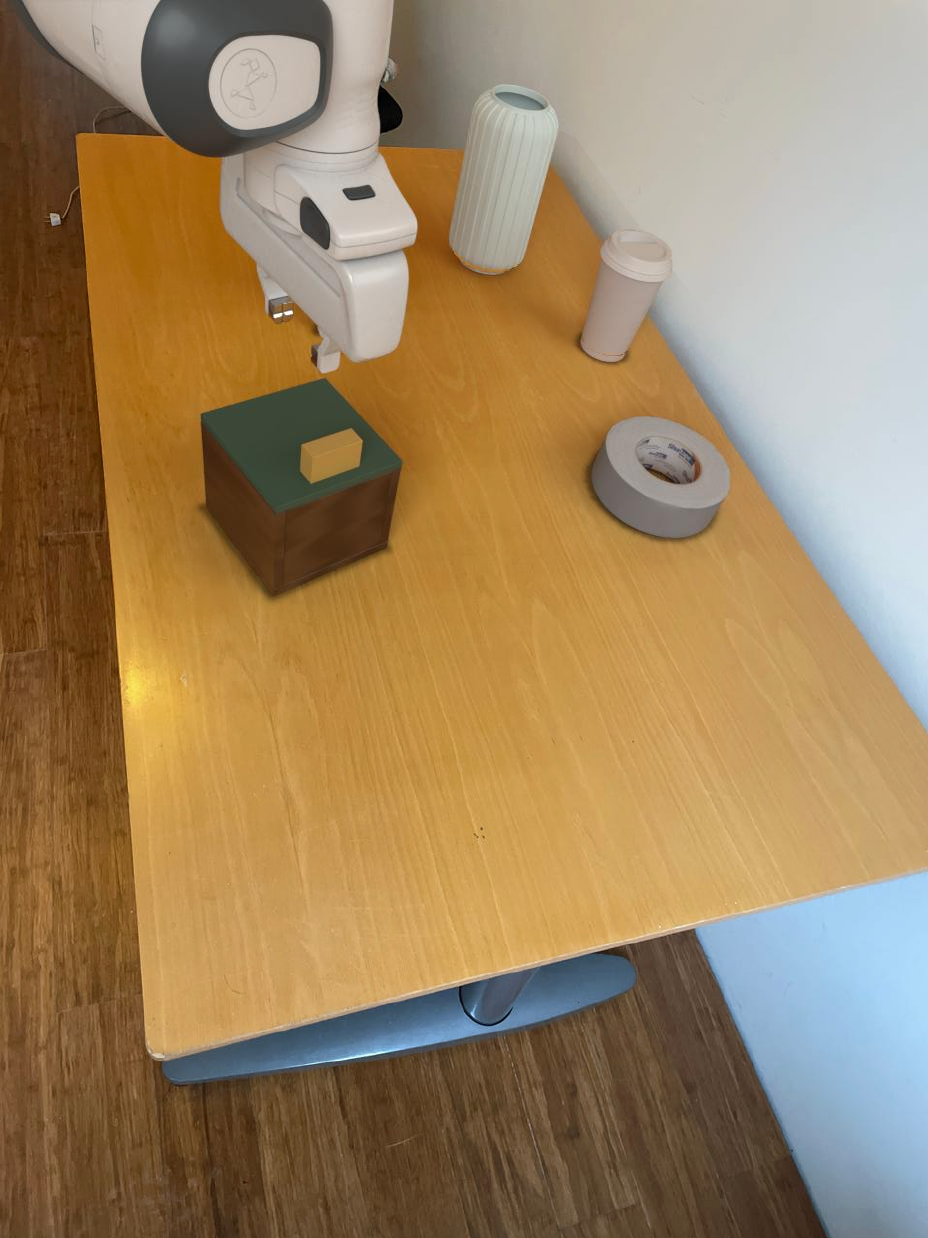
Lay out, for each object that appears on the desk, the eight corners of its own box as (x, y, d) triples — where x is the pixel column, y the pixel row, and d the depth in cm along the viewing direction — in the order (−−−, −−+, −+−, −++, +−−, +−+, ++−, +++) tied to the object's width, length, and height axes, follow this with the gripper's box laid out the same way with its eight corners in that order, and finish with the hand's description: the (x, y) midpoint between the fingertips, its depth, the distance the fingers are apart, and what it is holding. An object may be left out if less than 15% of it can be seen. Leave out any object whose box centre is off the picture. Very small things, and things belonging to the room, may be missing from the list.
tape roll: (727, 485, 101) (747, 454, 97) (692, 559, 91) (711, 528, 87) (616, 430, 103) (631, 397, 99) (570, 496, 93) (584, 463, 89)
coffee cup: (634, 336, 117) (675, 235, 106) (636, 375, 111) (680, 273, 100) (569, 320, 116) (604, 217, 105) (569, 359, 110) (605, 254, 99)
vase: (430, 256, 119) (460, 89, 102) (470, 231, 126) (504, 70, 109) (497, 291, 117) (538, 126, 100) (533, 263, 124) (578, 104, 107)
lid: (276, 514, 68) (276, 481, 65) (200, 420, 73) (198, 385, 70) (401, 467, 74) (408, 435, 71) (324, 384, 79) (327, 350, 76)
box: (273, 596, 76) (275, 514, 68) (206, 507, 81) (200, 421, 73) (386, 548, 83) (401, 467, 74) (317, 468, 88) (324, 384, 79)
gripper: (193, 101, 58) (203, 280, 69) (353, 251, 50) (336, 427, 61) (272, 94, 61) (269, 267, 72) (434, 235, 53) (404, 405, 64)
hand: (301, 341), depth 66 cm, fingers open, 6 cm apart
